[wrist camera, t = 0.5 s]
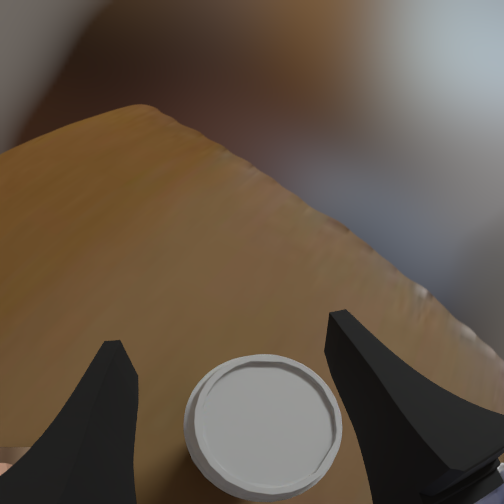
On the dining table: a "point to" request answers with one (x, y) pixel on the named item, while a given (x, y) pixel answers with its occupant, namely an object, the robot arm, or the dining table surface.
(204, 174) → the dining table surface
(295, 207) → the dining table surface
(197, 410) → the disposable coffee cup
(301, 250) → the dining table surface
